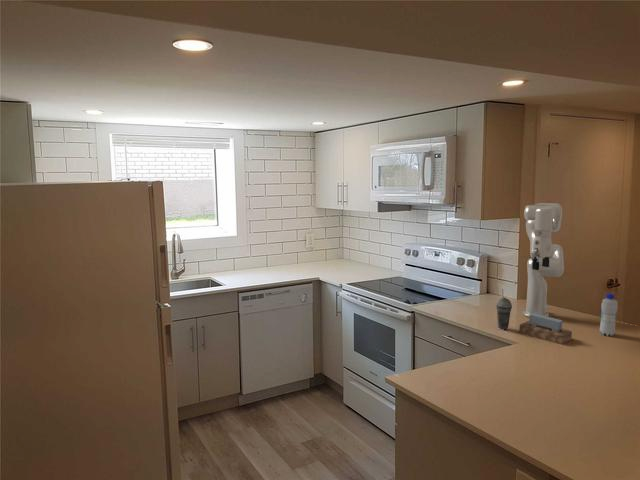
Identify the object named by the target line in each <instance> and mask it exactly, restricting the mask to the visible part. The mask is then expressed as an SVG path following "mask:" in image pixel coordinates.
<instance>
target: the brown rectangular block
mask: <svg viewBox="0 0 640 480" xmlns="http://www.w3.org/2000/svg"><path fill="white" fill-rule="evenodd" d="M518 331H519V332H521V333H520V334H523V333H524V334H523V335H526V334H527V336H530V337H533V338H537V339H540V340H541V339H542V340H544V341H547V342H552V343H554V344H559V345H563V344H565V343H567V342H568V341H570V340H572V336H573V331H572V330H569V329H566V328H562V329H560V332H559V333H557V332H553V331H552V329H551V328H547V327H543V326H540V325H539V327H534V326H531V323H529V320H527V321H525V322H522V323H520V324H519V329H518ZM519 332H518V333H519Z"/></svg>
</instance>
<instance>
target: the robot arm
mask: <svg viewBox="0 0 640 480" xmlns="http://www.w3.org/2000/svg"><path fill="white" fill-rule="evenodd" d="M523 212H524V213H523V216H524V219H525V220H526V222H525V228H526V229H525V230H526V235H527V238H528V239H529V241H530V246H529V247H530V249H529V254H530V255H529V256H530V257H531V258H528V260H527V263H526V269H527V289H526V306H525V307H526V308H525V310H522V315H523V316H525V317H527V318H529V317H530V314H533V313H534V314H538V315H542V316H547V317H549V315H550V314H549V313H548V312H546V310H548V309H549V305H547V297H548V294H547V293H548V283H547V281H546V279H545V278H544V277H557V278H559V277H561V276H562V275H563V274H564V271H565V264H564V263H565V262H564V250H563V247H562V246H561V245H560V244H556V243H553V242H552V233H556V232H559V231H560V230H561V229H560V228H561V225H562V219H563V207H562V205H561V204H560V203H554V202H551V203H549V202H539V203H535V204H529V205H528V204H527V205H526V206H525V207H524V211H523Z"/></svg>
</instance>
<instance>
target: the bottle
mask: <svg viewBox="0 0 640 480" xmlns="http://www.w3.org/2000/svg"><path fill="white" fill-rule="evenodd" d="M618 304H619V303H618V300H616V299H615V294H614V293H606V295H605V298H604V299H602V302H601V305H600V307H601V308H600V310H601V315H600V317H601V318H600V325H599V333H600V334H601V335H602V336H604V335H606V337H609V336H610V337H612V336H614V335H615V334H616V320H617V312H618V308H619V307H618Z"/></svg>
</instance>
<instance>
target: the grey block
mask: <svg viewBox="0 0 640 480" xmlns="http://www.w3.org/2000/svg"><path fill="white" fill-rule="evenodd" d="M528 318H529V320H528V321H529V323H531V326H534V327H539V325H540V326H543V327H547V328H551V329H552V331H553V332H557V333H559V332H560V329H563V321H564V320H561V319H558V318H553V317H549V316H548V317H547V316H542V315H538V314H534V313H533V314H530V317H528Z"/></svg>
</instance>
